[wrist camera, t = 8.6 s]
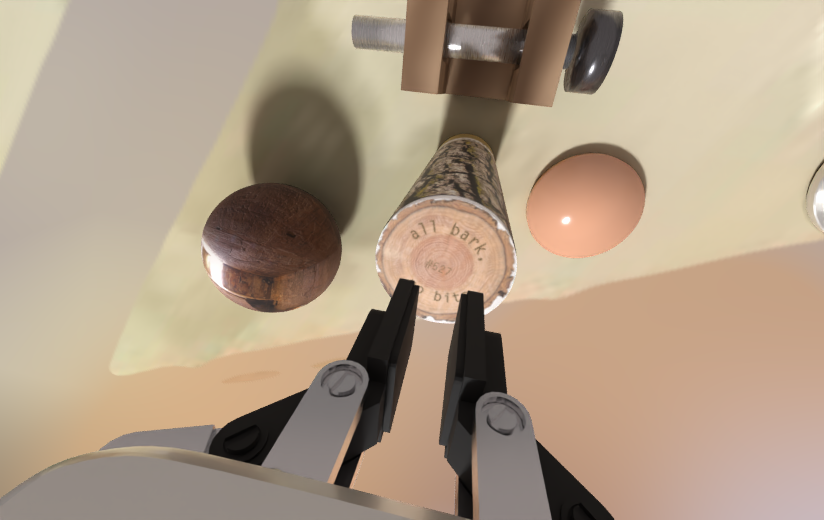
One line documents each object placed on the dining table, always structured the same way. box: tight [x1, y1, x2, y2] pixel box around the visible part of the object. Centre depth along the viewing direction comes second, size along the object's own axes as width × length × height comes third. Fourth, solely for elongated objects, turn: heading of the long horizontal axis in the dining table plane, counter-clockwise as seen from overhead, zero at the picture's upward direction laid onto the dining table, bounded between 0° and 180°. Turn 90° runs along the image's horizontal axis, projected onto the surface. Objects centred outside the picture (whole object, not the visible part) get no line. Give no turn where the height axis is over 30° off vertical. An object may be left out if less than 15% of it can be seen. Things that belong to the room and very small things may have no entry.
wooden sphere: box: [201, 183, 342, 312], centre depth 38 cm, size 15×15×15 cm
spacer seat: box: [526, 153, 645, 258], centre depth 37 cm, size 12×12×1 cm
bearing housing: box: [401, 0, 581, 107], centre depth 28 cm, size 14×8×9 cm, turn 85°
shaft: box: [352, 9, 623, 94], centre depth 27 cm, size 20×6×6 cm, turn 85°
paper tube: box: [376, 134, 517, 323], centre depth 26 cm, size 7×7×25 cm
